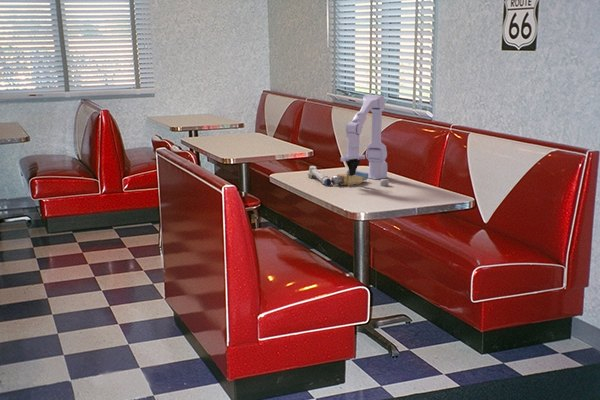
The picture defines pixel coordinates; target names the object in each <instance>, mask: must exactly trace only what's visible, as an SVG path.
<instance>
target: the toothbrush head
mask: <svg viewBox="0 0 600 400" xmlns="http://www.w3.org/2000/svg"><path fill="white" fill-rule="evenodd" d="M306 174H307V178H309V179H318V180H319V181H320V183H322V184H321V185H324V186H328V187H329V186H331V185H332V182H331V179H330V176H328V175H326V174H324V173H322V172H321V171H320V170H318V169H317V166H315V165H309V169H308V170H307V173H306Z"/></svg>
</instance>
